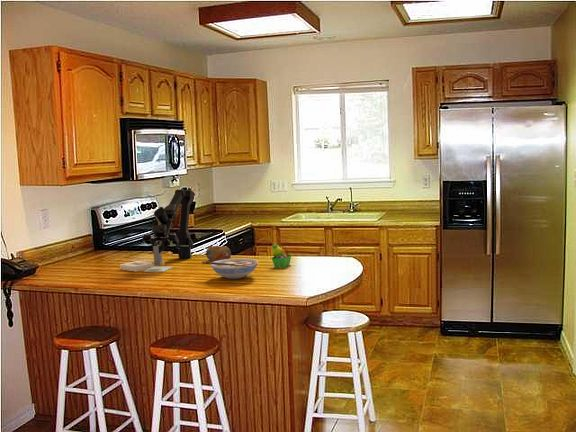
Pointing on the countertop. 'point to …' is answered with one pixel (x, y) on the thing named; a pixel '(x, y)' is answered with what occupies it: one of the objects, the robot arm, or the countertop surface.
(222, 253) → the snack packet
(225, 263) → the ramen bowl
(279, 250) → the fruit basket
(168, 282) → the countertop surface
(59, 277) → the countertop surface
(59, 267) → the countertop surface
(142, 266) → the cover plate
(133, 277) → the countertop surface
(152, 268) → the key mat
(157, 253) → the t key
